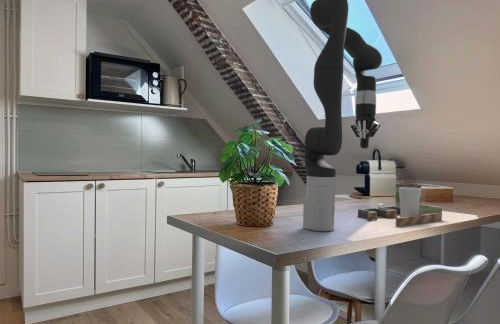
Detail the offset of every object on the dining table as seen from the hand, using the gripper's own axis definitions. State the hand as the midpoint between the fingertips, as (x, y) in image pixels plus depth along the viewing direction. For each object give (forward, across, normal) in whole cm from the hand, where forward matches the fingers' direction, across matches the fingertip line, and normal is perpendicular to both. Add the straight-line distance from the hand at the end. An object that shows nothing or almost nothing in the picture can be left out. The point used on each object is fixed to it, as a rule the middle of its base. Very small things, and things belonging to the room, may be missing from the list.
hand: (364, 148), depth 141 cm
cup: (+27, +10, +15) cm, 33 cm away
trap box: (+27, +8, +11) cm, 30 cm away
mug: (+27, -1, +32) cm, 42 cm away
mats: (+27, +1, +11) cm, 29 cm away
